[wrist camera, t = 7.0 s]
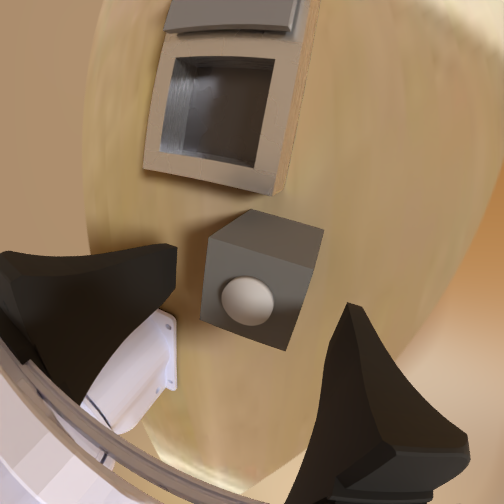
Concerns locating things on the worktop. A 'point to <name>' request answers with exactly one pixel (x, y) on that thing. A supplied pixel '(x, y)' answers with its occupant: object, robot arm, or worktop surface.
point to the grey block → (259, 276)
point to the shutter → (229, 15)
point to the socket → (230, 103)
